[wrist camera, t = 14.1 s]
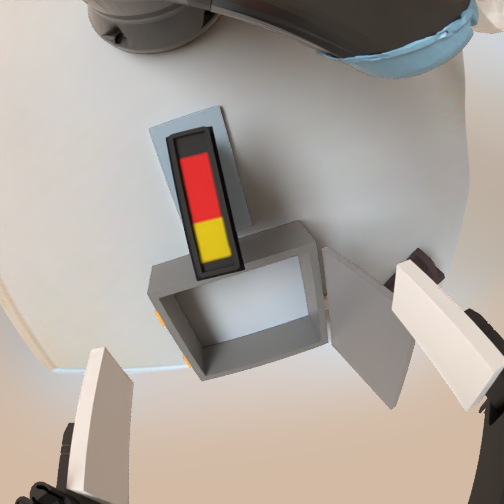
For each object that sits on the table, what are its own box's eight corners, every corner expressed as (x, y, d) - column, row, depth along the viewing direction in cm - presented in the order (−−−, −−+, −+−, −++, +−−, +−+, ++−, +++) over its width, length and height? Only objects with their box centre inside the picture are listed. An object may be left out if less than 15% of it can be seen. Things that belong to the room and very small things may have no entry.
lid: (415, 319, 20) (424, 312, 20) (321, 248, 32) (329, 244, 32) (390, 409, 29) (397, 404, 29) (331, 344, 41) (338, 340, 41)
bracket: (368, 287, 46) (382, 305, 42) (422, 242, 44) (439, 257, 40) (378, 304, 49) (392, 322, 45) (428, 263, 47) (444, 278, 43)
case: (148, 267, 37) (132, 357, 24) (331, 210, 38) (397, 274, 24) (196, 353, 46) (203, 435, 33) (340, 308, 47) (383, 377, 34)
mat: (149, 128, 29) (148, 129, 28) (218, 105, 29) (219, 105, 28) (190, 242, 36) (190, 245, 36) (251, 223, 37) (252, 225, 36)
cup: (400, -24, 21) (480, -47, 8) (435, 24, 25) (519, 21, 12) (364, -5, 23) (451, -34, 10) (405, 48, 28) (497, 46, 14)
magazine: (207, 262, 35) (195, 284, 21) (184, 158, 34) (158, 112, 19) (237, 255, 36) (246, 272, 21) (213, 151, 35) (207, 100, 20)
